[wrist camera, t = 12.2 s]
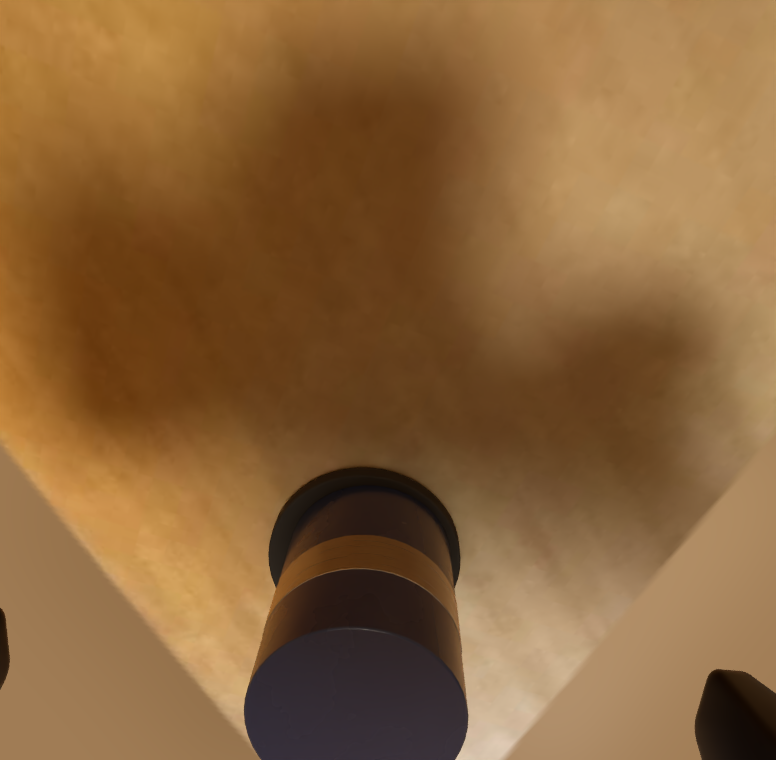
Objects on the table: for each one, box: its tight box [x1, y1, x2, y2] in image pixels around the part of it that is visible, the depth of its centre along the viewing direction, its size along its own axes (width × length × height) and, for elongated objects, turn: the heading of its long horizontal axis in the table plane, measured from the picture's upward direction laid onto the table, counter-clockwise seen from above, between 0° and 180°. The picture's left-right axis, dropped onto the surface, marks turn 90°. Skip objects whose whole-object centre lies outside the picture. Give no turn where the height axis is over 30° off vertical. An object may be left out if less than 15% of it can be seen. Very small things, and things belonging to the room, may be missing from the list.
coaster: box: [269, 468, 460, 588], centre depth 22 cm, size 6×6×1 cm
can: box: [244, 485, 468, 760], centre depth 18 cm, size 5×5×6 cm
